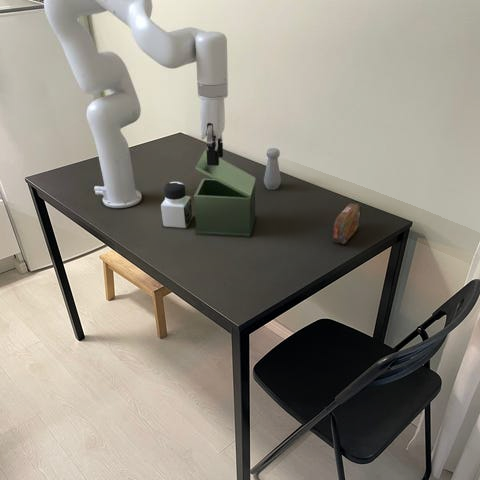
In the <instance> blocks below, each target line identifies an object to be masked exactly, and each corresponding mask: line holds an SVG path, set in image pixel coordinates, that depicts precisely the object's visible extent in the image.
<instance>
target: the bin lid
mask: <svg viewBox="0 0 480 480" xmlns="http://www.w3.org/2000/svg"><path fill="white" fill-rule="evenodd" d="M194 169H195V171H198V172H200V173H201V174H204V175H205V176H207V177H209V178H210V179H215V180H216V181H218V182H220V183H222V184H224V185H226V186H228V187H229V188H231V189H233V190H235V191H237V192H239V193H241V194H242V195H244V196H246V197H248V198H250V196H251V193H252V189H253V186H254V182H255V183H256V177H255V176H253V175H251V174H249V172H246V171H244V170H243V169H240V168H239V167H237V166H235V165H234V164H231V163H230V162H228V161H226V160H224V159H222V157H219V165H218V166H215V165H207V149H205V150H204V151H203V152H202V154H201V156H200V158H199V159H198V162H197V164H196V166H195V168H194Z"/></svg>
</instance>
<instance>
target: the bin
mask: <svg viewBox="0 0 480 480" xmlns="http://www.w3.org/2000/svg"><path fill="white" fill-rule="evenodd" d="M193 202H194V203H193V204H194V215H195V226H196V234H197V235H206V236H207V235H208V236H225V237H226V236H227V237H242V238H243V237H245V238H251V236H252V231H253V227H254V225H255V224H254V223H255V220H256V181H255V182H254V186H253V189H252V193H251V196H250V198H248V197H246V196H244V195H242V194H241V193H239V192H237V191H235V190H233V189H231V188H229V187H228V186H226V185H224V184H222V183H220V182H218V181H216V180H215V179H213V178H205V177H204V178H202V179H201V181H200V183H199V185H198V187H197V189H196V191H195V193H194V195H193Z"/></svg>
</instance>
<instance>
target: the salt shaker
mask: <svg viewBox="0 0 480 480" xmlns="http://www.w3.org/2000/svg"><path fill="white" fill-rule="evenodd" d="M280 151H281V150H280V149H279V148H277V147H270V148H267V150H266V157H267V162H266V167H265V172H264V176H263V184H264V186H265V188H266V189H267V190H273V191H275V190H277V189H279V187H280V185H281V181H282V178H281V171H280V166H279V164H280V163H279V157H280V156H281V155H280V154H281V152H280Z"/></svg>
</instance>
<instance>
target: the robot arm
mask: <svg viewBox="0 0 480 480" xmlns="http://www.w3.org/2000/svg"><path fill="white" fill-rule="evenodd" d="M43 8H44V13H45V17H46V19H47V21H48V23H49V25H50V27H51V30H52V31H53V32H54V34H55V36H56V38H57V39H58V41H59V43H60V46H61V47H62V49H63V52H64V55H65V57H66V60H67V61H68V64H69V67H70V69H71V71H72V73H73V76H74V78H75V80H76V83H77V85H78V86H79V89H81V91H83V93H85V94H86V95H87V94H88V95H95V94H100V93H102V92H105V91H107V90H108V92H109V94H107V95H104V96H102V97H98V98H96V99H95V100H92V102H91V103H89V105H88V106H87V108H86V121H87V123H88V125H89V128H90V130H91V133H92V136H93V139H94V143H95V147H96V151H97V155H98V160H99V165H100V170H101V175H102V179H103V186H101V185H95V186H94V188H93V190H94V192H95V196H96V195H97V196H100V195H101V196H103V197H102V203H103V205H104V206H106V207H108V208H112V209H124V208H125V209H126V208H130V207H133V206H136V205H138V204H139V203H140V202H141V201H142V198H143V197H142V193H141V192H140V191H139V190H137V189H136V183H135V177H134V170H133V164H132V158H131V151H130V147H129V143H128V141H127V139H126V137H125V136H124V134H123V132H122V131H121V129H123V128H125V127H127V126H129V125H131V124H133V123H135V122H137V121H138V120H139V119H140V116H141V113H142V108H141V103H140V99H139V97H138V95H137V91H136V89H135V85H134V83H133V81H132V78H131V75H130V73H129V70H128V68H127V65H126V64H125V62H124V61H123V59H122V58H121V57H120V56H119V54H117V53H115V52H114V51H110V50H105V51H101V52H99V51H98V50H97V47H96V45H95V42H94V39H93V37H92V34H91V33H90V32H89V30H88V29H87V28H86V27H85V25H83V23H81V22H80V21H79V20H78V19H79V18H80V17H86V16H92V15H98V14H102V13H105V12H107V11H108V13H110V14H111V15H113V16H114V17H115V18H117V19H118V20H119V21H121V22H122V23H124V25H126V26H127V27H129V28H130V32H131V34H132V38H133V40H134V41H135V43H136V45H137V46H138V48H139V49H140V50H141V51H142V52H143V53H144V54H145V55H147V56H148V57H149V58H151V59H152V60H153V61H154V62H156V63H157V64H158V65H160V66H162V67H164V68H167V69H173V70H174V69H178V68H180V67H183V66H186V65H190V64H193V63H196V80H197V82H196V83H197V84H196V85H197V97H198V98H200V109H199V110H200V113H199V117H200V118H199V120H200V121H199V122H200V130H199V131H200V139H201V140H205V139H206V141H205V142H206V151H207V165H215V166H218V165H219V158H223V157H224V143H223V133H224V131H225V127H226V125H225V124H226V115H225V114H226V113H225V99H226V98H228V96H229V82H228V81H229V79H228V77H229V75H228V73H229V72H228V39H227V36H226V35H225V34H224V33H223V32H220V31H206V30H202V29H199V28H196V27H191V26H190V27H184V28H180V29H175V30H171V31H166V30H164V29H163V28H162V27H160V26H159V25H158V24H156V23H155V22H154V21H153V20H152V19H151V16H152V13H153V1H152V0H43Z"/></svg>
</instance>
